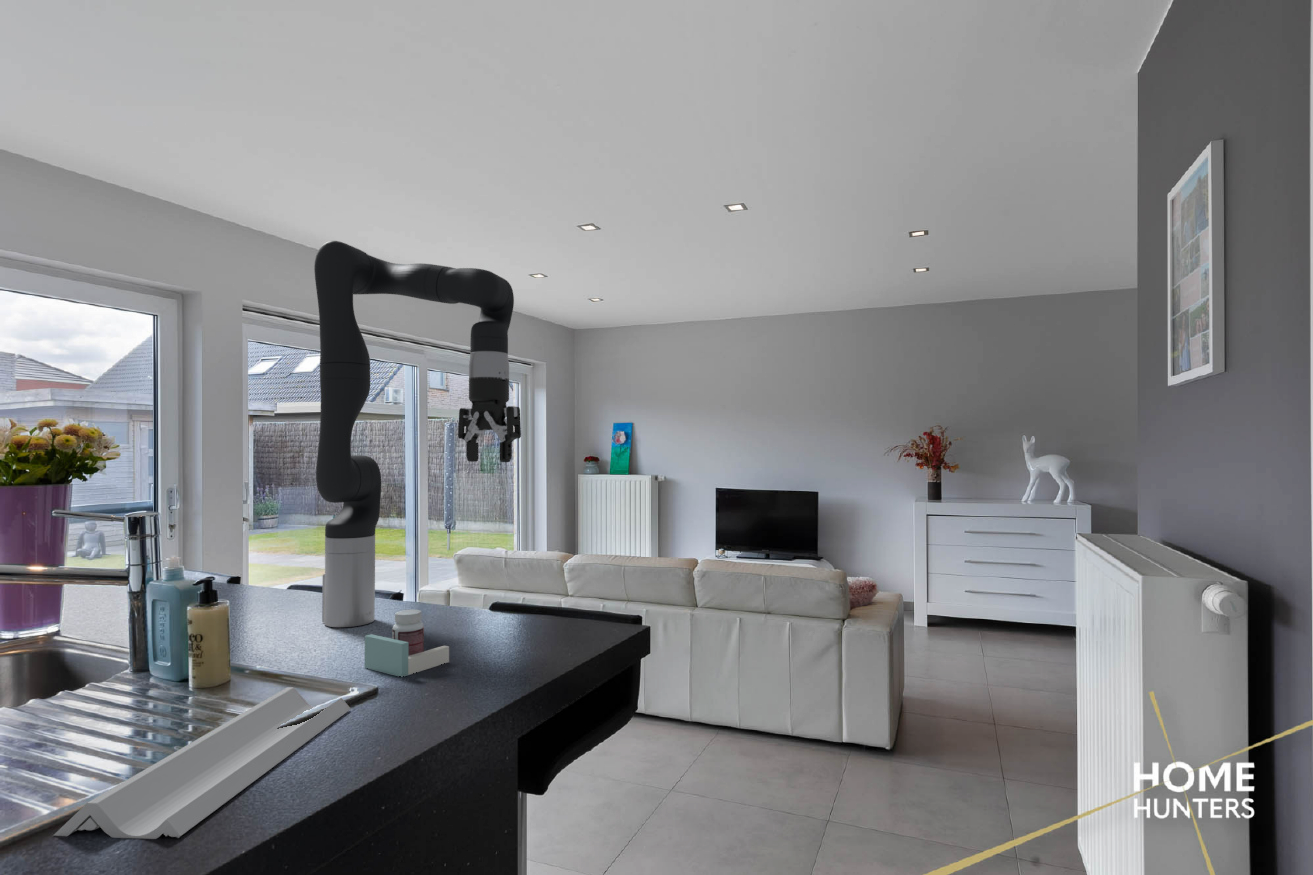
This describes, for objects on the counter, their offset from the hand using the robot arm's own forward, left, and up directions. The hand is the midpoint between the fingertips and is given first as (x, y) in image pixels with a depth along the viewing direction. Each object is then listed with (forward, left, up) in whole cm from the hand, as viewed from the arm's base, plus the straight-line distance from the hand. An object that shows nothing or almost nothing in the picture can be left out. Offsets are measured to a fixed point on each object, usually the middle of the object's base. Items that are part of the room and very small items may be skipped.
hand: (488, 461), depth 137 cm
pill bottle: (+5, -22, -32) cm, 40 cm away
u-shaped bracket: (+5, -22, -32) cm, 39 cm away
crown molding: (+18, -56, -33) cm, 68 cm away
